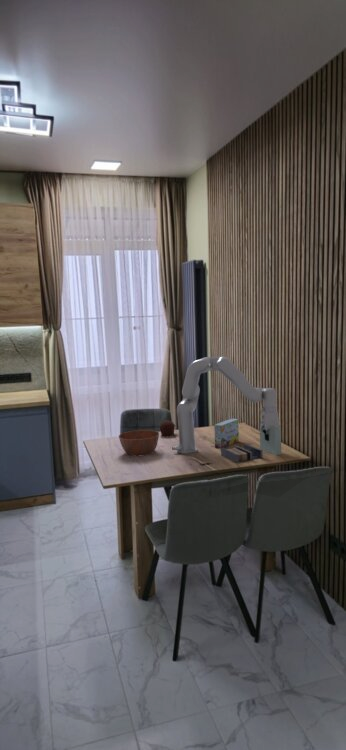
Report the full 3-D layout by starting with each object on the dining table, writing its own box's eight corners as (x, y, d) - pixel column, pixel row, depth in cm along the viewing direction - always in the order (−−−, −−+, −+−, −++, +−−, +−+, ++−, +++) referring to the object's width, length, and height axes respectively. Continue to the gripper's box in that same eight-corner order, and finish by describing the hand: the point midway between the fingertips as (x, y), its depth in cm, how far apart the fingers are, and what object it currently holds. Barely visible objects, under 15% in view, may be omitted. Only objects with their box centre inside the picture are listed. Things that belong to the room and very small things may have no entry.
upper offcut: (238, 458, 285) (237, 455, 285) (225, 452, 298) (225, 449, 298) (247, 456, 288) (247, 453, 288) (234, 450, 301) (234, 447, 300)
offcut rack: (236, 464, 283) (236, 455, 283) (221, 456, 300) (220, 447, 299) (262, 459, 290) (262, 450, 289) (245, 452, 306) (245, 443, 305)
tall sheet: (275, 455, 294) (275, 429, 292) (260, 448, 309) (259, 424, 307) (281, 454, 296) (280, 428, 294) (265, 448, 310) (265, 423, 309)
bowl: (152, 445, 334) (151, 428, 333) (165, 454, 311) (164, 436, 309) (115, 450, 325) (114, 433, 324) (126, 460, 302) (125, 441, 301)
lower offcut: (238, 461, 286) (238, 458, 285) (225, 455, 298) (225, 452, 298) (247, 459, 288) (247, 456, 288) (234, 453, 301) (234, 450, 301)
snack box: (222, 449, 316) (221, 425, 314) (214, 448, 319) (213, 424, 318) (239, 441, 333) (238, 418, 331) (232, 440, 336) (231, 417, 334)
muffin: (173, 437, 353) (172, 422, 351) (157, 437, 355) (157, 422, 354) (177, 433, 364) (176, 419, 363) (162, 432, 367) (161, 419, 365)
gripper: (260, 412, 293) (261, 443, 295) (285, 408, 299) (285, 439, 301) (253, 410, 299) (254, 440, 302) (277, 406, 306) (278, 436, 308)
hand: (270, 439), depth 301 cm, fingers closed on tall sheet, 4 cm apart
